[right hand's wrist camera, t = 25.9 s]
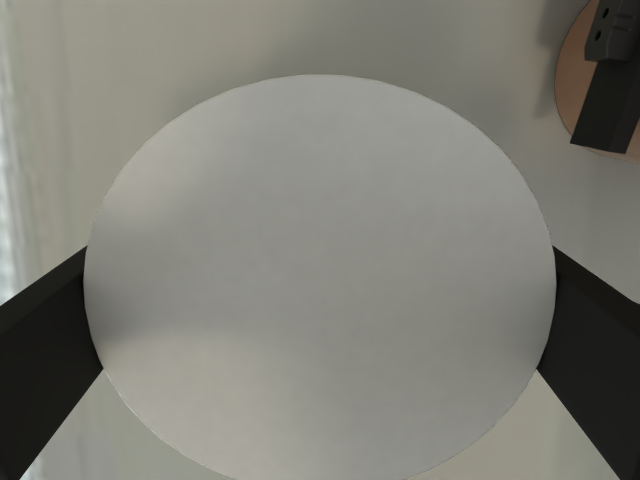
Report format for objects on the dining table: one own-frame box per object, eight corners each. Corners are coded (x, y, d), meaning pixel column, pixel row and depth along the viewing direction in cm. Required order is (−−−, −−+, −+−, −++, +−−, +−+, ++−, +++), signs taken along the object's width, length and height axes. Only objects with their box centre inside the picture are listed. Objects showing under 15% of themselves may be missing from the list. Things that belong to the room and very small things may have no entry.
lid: (138, 30, 10) (85, 14, 8) (576, 128, 11) (644, 139, 8) (119, 399, 14) (80, 460, 11) (444, 452, 14) (467, 519, 12)
